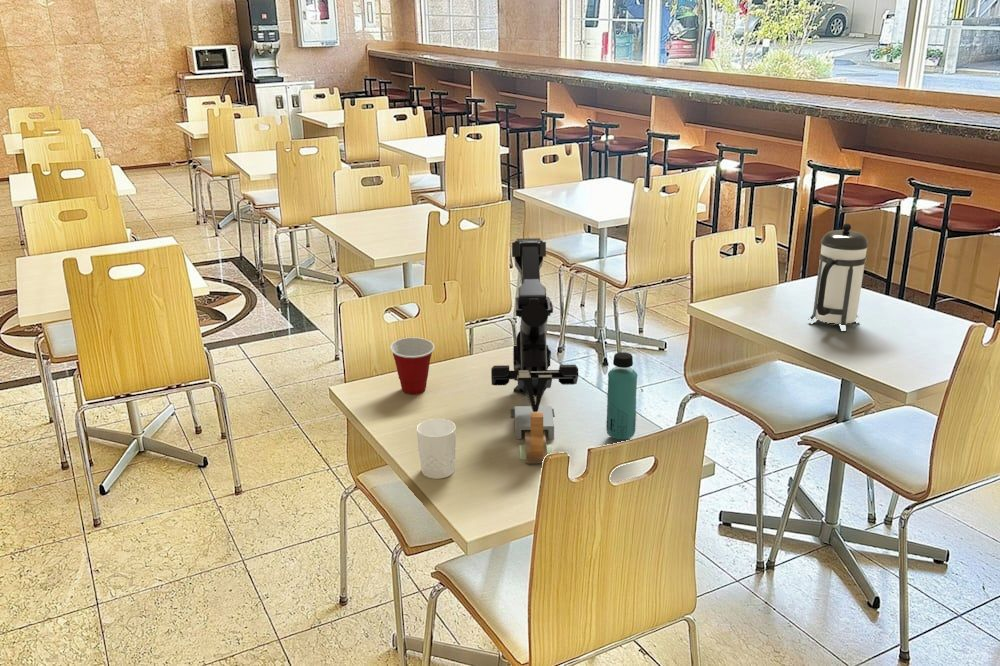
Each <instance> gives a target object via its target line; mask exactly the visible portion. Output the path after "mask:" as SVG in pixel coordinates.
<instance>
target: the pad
mask: <svg viewBox="0 0 1000 666" xmlns="http://www.w3.org/2000/svg"><path fill="white" fill-rule="evenodd" d="M518 446H519V460H520V461H524V460H526V447H525V444H519V445H518ZM546 446H547V454H550V453H553V452H554V451H553V445H552V444H546Z"/></svg>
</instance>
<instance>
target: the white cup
mask: <svg viewBox="0 0 1000 666" xmlns="http://www.w3.org/2000/svg"><path fill="white" fill-rule="evenodd" d="M456 430H457V426H456V424H455V423H454V422H453V421H452V420H449V419H447V418H430V419H425V420H424V421H423V420H422V421H421V422H420V423H418V425H417V426H416V437H417V445H418V446H417V448H418V452H419V453H418V455H419V461H420V469H421V471H420V472H421V473H422V474H423V476H425V477H426V478H429V479H435V480H439V479H445V478H447V477H451V476H452V474H454V473H455V459H456V447H457V446H456V445H457V443H456V441H457V440H456V439H457V435H456V432H457V431H456Z"/></svg>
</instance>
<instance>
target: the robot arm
mask: <svg viewBox="0 0 1000 666" xmlns="http://www.w3.org/2000/svg"><path fill="white" fill-rule="evenodd" d="M545 257H547V242H546V241H543V240H541V238H539V237H536V238H535V237H534V238H533V237H531V238H528V237H527V238H525V237H523V238H516V240H515V241H514V242H513V241H512V242H511V258H514V267H515V268H516V270H517V271H518V273H519V274H520V278H521V279H520V281H521V282H520V283H521V285H520V286H519V287H518V293H517V295H518V297H515V302H514V303H515V316H516V317H519V318H520V326H519V331H518V333H517V336H516V339H515V340H516V341H515V345H513V351H512V352H513V353H512V356H513V358H512V362H513V370H510V365H509V364H507V365H501V364H500V365H493V366H492V367H491V369H490V371H491V374H490V375H491V385H492V386H507V385H508V384H510V380H513V381H517V385H516V386H515V387H514V388H513V392H515V393H516V392H517V393H521V394H525V395H526V397H527V399H528V402H529V406H531V408H532V410H533V412H538V409H539V406H541V401H542V398H543V395H544V393H545V391H546V389H550V388H552V382H553V380H558V382H559V383H560V384H561V385H565V386H568V385H569V386H570V385H571V386H573V385H577V383H578V380H579V367H578V366H577V365H576V364H559V367H558V369H549V367H551V356H552V350H550V348H549V345H548V344H547V328H548V321H549V320H548V319H549V317H551V314H553V313H554V306H553V302H552V301H551V298H550V297H549V296H547V288H546V287H545V286H544V285H543V284H542V282H541V275H540V271H541V268H542V266H543V263H544V261H543V260H544V258H545ZM535 397H536V398H535Z"/></svg>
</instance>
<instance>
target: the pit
mask: <svg viewBox="0 0 1000 666" xmlns="http://www.w3.org/2000/svg"><path fill="white" fill-rule="evenodd" d="M552 413H553V418H555V417H556V416H555V410H554V408H552ZM510 418H513V419H515V408H511V409H510Z"/></svg>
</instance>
